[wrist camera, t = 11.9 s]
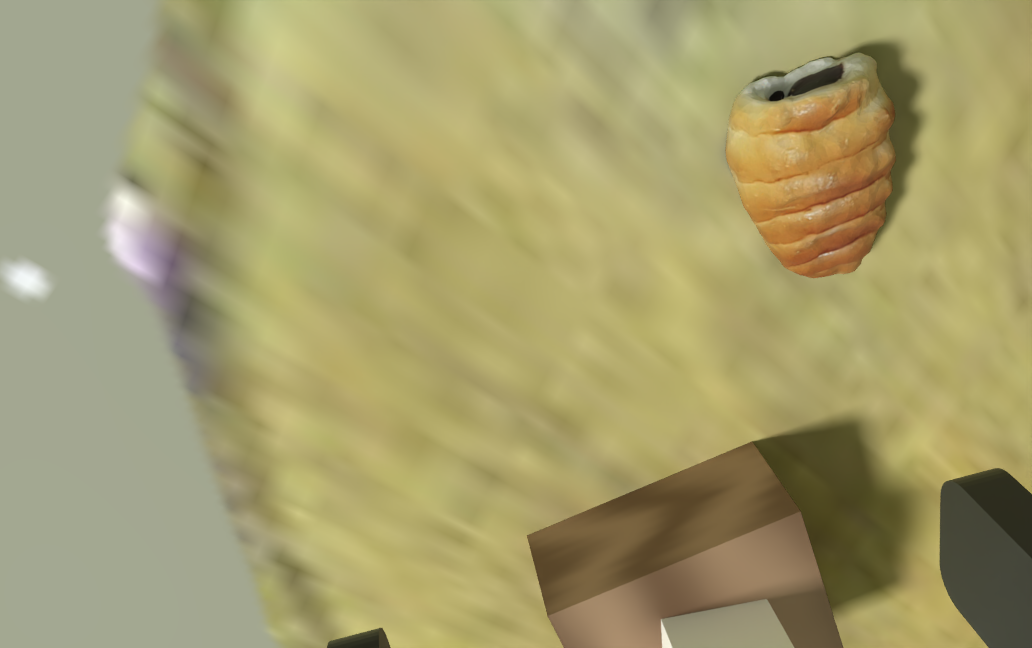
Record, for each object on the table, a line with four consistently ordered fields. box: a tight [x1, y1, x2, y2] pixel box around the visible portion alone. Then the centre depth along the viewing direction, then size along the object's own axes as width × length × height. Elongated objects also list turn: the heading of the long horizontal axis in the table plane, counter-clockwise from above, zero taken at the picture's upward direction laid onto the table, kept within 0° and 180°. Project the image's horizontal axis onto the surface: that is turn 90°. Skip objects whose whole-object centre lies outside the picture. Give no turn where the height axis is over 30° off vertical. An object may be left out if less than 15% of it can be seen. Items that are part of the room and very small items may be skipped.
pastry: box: [726, 53, 896, 278], centre depth 39 cm, size 9×7×4 cm
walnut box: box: [527, 442, 843, 648], centre depth 47 cm, size 12×12×6 cm
